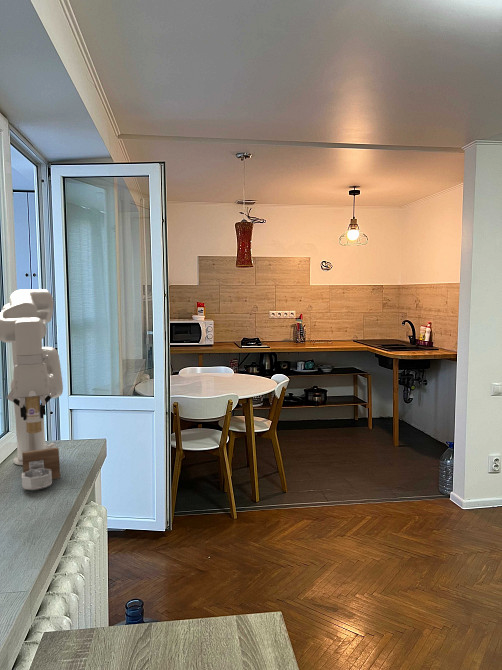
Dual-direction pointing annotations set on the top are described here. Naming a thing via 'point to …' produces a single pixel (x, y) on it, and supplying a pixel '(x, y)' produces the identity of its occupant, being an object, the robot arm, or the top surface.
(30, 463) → the cup bracket
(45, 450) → the mount board
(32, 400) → the sprinkles bottle
